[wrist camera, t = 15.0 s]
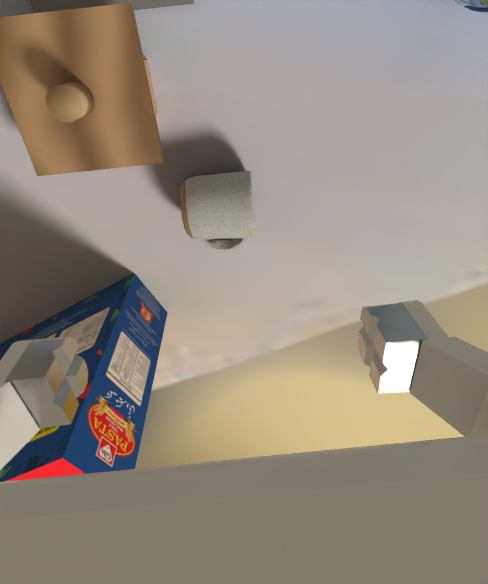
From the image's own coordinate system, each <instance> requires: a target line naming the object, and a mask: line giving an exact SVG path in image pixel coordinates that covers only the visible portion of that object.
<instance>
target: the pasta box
mask: <svg viewBox="0 0 488 584" xmlns="http://www.w3.org/2000/svg"><path fill="white" fill-rule="evenodd" d="M166 317H167V312H166V310H165V309H164V308H163V307H162V306H161V305H160V303H159V302H158V301H157V300H156V299H155V297H154V296H153V295H152V294H151V293H150V291H149V290H148V289H147V288H146V287H145V285H144V284H143V283H142V282H141V281H140V279H139V278H138V277H137V276H136V275H135V273H134V274H132V275H130V276H128V277H126V278H124V279H122V280H121V281H119V282H117V283H115V284H113V285H111V286H109V287H107V288H105V289H103V290H102V291H100V292H98V293H96V294H94V295H92V296H90V297H88V298H86V299H84V300H83V301H81V302H79V303H77V304H75V305H73V306H71V307H69V308H67V309H65V310H64V311H62V312H60V313H58V314H56V315H54V316H52V317H50V318H48V319H46V320H45V321H43V322H41V323H39V324H37V325H35V326H33V327H31V328H29V329H27V330H26V331H24V332H22V333H20V334H18V335H16V336H14V337H12V338H10V339H8V340H7V341H5V342H3V343H1V344H0V360H1V359H2V358H3V356H4V355H5V353H6V352H7V351H8V349H9V348H10V346H11V345H12V344H13V343H15V342H17V341H23V340H35V339H44V338H57V337H72V338H74V339H75V341H76V343H77V345H78V350H77V352H76V354H77V355H79V356H80V357H82V358H83V359H84V360H85V362H86V365H87V369H88V382H87V385H86V388H85V391H84V392H83V393H82V394H81V395H79V396H78V397H77V398H76V399H77V401H78V403H79V406H78V408H77V411H76V413H75V416H74V418H73V421H72V423H71V424H69V425H61V426H53V427H45V428H39V429H40V430H39V431H38V432H37V433H36V434H35V435H34V436H33V437H32V438H31V439H30V441H29V442H28V443H27V444H26V445H25V446H24V447H23V448H22V449H21V450H20V451H19V452H18V453H17V454H16V455H15V456H14V457H13V458H12V459H11V460H10V461H9V462H8V463H7V464H6V465H5V466H4V467H3V468H2V469H1V470H0V482H6V481H16V480H27V479H37V478H47V477H57V476H67V475H78V474H88V473H98V472H108V471H119V470H129V469H135V465H136V461H137V456H138V451H139V446H140V441H141V437H142V432H143V427H144V422H145V417H146V413H147V408H148V403H149V398H150V394H151V389H152V384H153V379H154V374H155V370H156V365H157V360H158V355H159V350H160V346H161V341H162V336H163V331H164V326H165V322H166Z"/></svg>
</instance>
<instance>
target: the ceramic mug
mask: <svg viewBox="0 0 488 584" xmlns="http://www.w3.org/2000/svg"><path fill="white" fill-rule="evenodd" d="M180 202H181V212H182V219H183V224H184V227H185V230H186V233H187V234H188V235H189V236H190V237H191V238H195V239H201V240H202V241H203V243H204V244H205V245H206V246H208V247H210V248H213V249H217V250H231V249H234V248H237V247H239V246H240V245H241V244H242V243H243V242H244V240H245V238H253V237H254V236H255V233H254V220H253V203H252V186H251V172H250V171H242V172H232V173H221V174H214V175H200V176H195V177H191V178H188V179H186V180H185V181H184V182H183V183H182V185H181V192H180ZM220 238H235V239H232V240H218V239H220Z"/></svg>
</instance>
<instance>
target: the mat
mask: <svg viewBox="0 0 488 584" xmlns="http://www.w3.org/2000/svg"><path fill="white" fill-rule="evenodd" d="M31 3H32V6H33V9H34V12H35V13H42V12H51V11H60V10H69V9H78V8H88V7H97V6H106V5H115V4H124V3H131V4H132V5H133V10H138V9H147V8H156V7H165V6H175V5H184V4H193V3H194V1H193V0H31Z"/></svg>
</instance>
